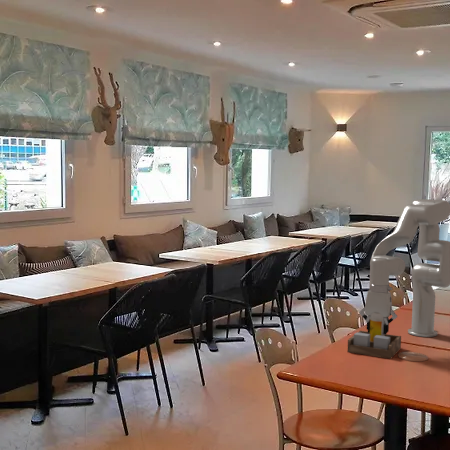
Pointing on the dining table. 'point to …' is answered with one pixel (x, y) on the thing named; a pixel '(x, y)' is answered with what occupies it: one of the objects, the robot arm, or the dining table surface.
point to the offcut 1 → (362, 339)
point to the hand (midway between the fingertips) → (377, 332)
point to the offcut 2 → (381, 342)
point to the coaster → (413, 356)
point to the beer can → (376, 325)
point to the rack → (392, 348)
